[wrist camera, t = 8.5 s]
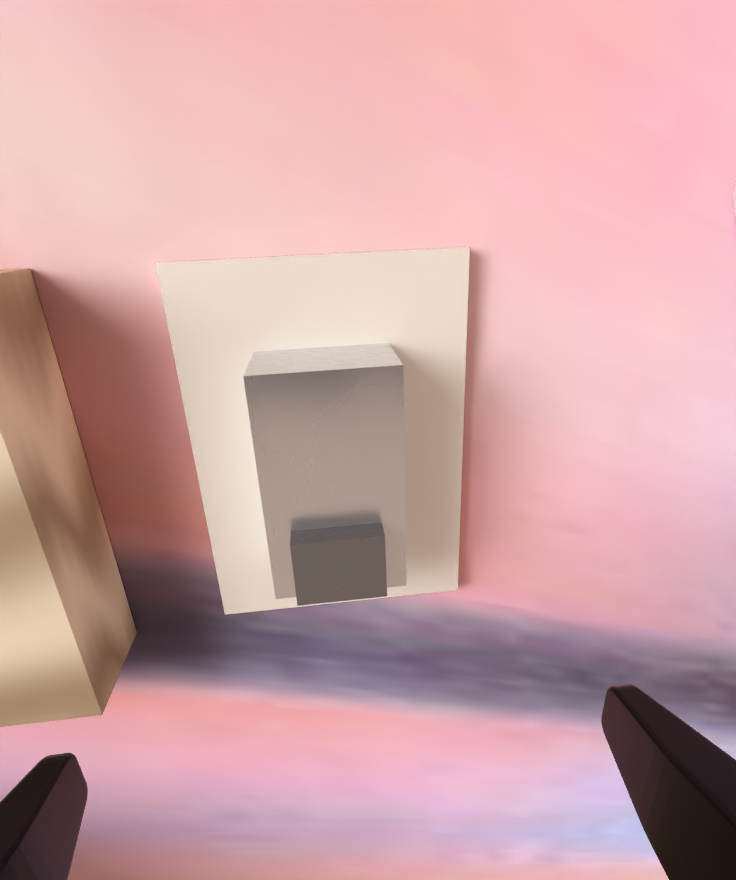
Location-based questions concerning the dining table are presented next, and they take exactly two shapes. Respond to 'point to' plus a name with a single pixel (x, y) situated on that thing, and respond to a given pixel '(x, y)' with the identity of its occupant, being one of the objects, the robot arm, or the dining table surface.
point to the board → (311, 326)
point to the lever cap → (330, 469)
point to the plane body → (50, 536)
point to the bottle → (734, 199)
